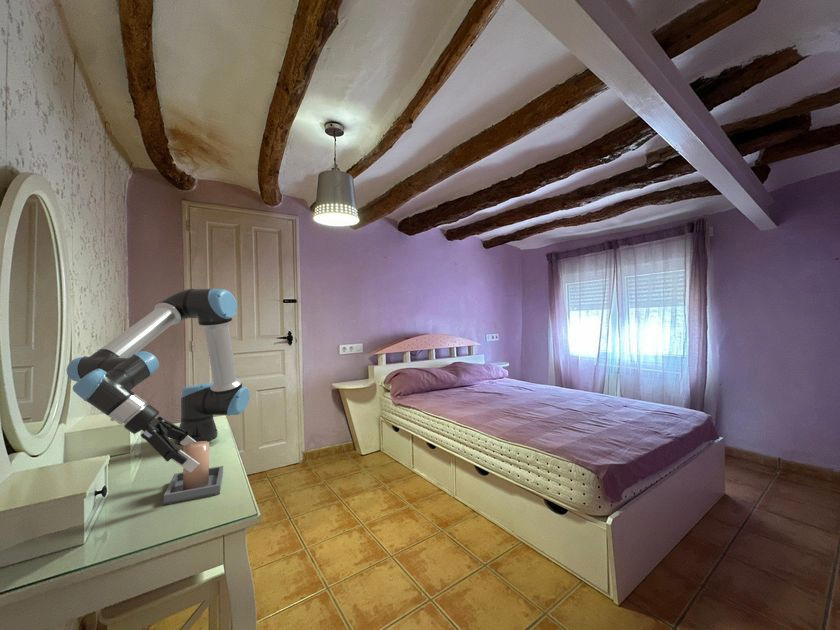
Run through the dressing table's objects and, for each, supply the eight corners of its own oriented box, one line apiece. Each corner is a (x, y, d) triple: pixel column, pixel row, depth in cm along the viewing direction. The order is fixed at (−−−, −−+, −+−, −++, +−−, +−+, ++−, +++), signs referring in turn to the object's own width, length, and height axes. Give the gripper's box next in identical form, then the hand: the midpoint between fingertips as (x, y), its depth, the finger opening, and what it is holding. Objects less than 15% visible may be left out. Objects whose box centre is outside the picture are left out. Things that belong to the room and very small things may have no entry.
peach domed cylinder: (197, 479, 103) (198, 440, 103) (213, 481, 101) (214, 442, 101) (177, 489, 97) (178, 447, 97) (194, 492, 95) (194, 449, 95)
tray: (174, 481, 102) (174, 473, 103) (223, 473, 108) (223, 465, 109) (163, 505, 89) (163, 495, 89) (219, 494, 95) (219, 485, 95)
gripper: (135, 414, 102) (193, 455, 109) (106, 439, 80) (179, 488, 87) (158, 395, 105) (212, 436, 111) (135, 414, 83) (204, 464, 89)
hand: (198, 459), depth 99 cm, fingers open, 13 cm apart
